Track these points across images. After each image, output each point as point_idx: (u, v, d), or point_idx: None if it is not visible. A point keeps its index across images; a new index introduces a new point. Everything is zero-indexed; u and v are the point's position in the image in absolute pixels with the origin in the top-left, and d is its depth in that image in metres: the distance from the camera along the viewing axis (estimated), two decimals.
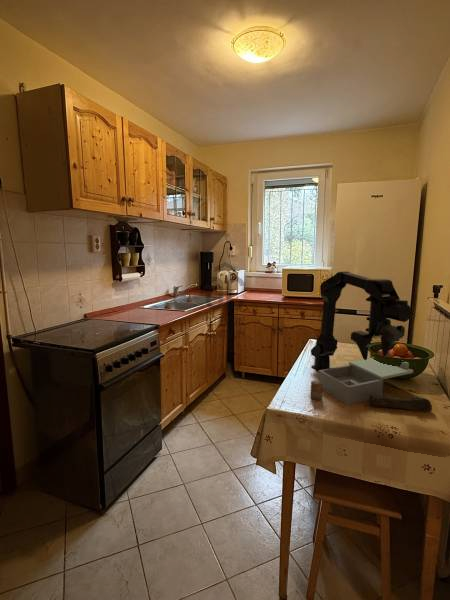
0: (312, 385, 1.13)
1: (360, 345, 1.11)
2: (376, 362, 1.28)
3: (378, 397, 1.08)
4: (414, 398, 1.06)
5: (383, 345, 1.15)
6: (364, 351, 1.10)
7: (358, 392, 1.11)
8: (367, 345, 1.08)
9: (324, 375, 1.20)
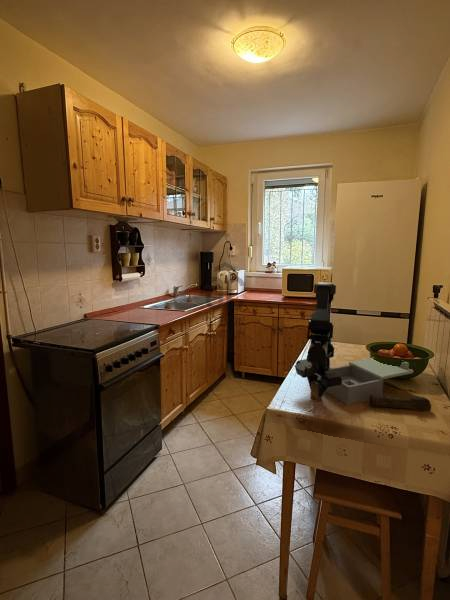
0: (312, 385, 1.13)
1: None
2: (376, 362, 1.28)
3: (378, 397, 1.08)
4: (414, 397, 1.06)
5: None
6: None
7: (358, 392, 1.11)
8: None
9: None
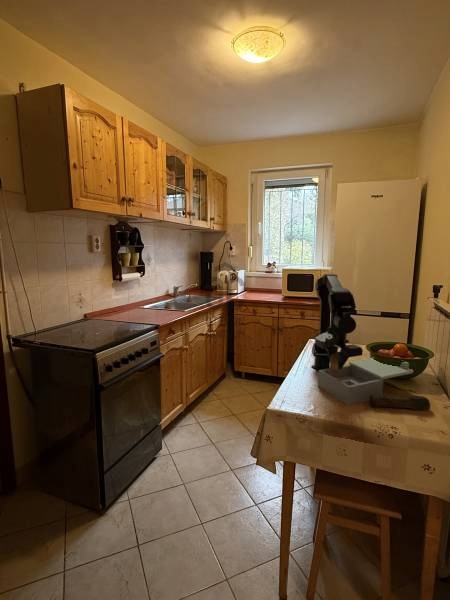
0: (332, 357, 1.14)
1: None
2: (376, 362, 1.28)
3: (378, 397, 1.08)
4: (413, 397, 1.06)
5: None
6: None
7: (358, 392, 1.11)
8: None
9: (324, 375, 1.20)
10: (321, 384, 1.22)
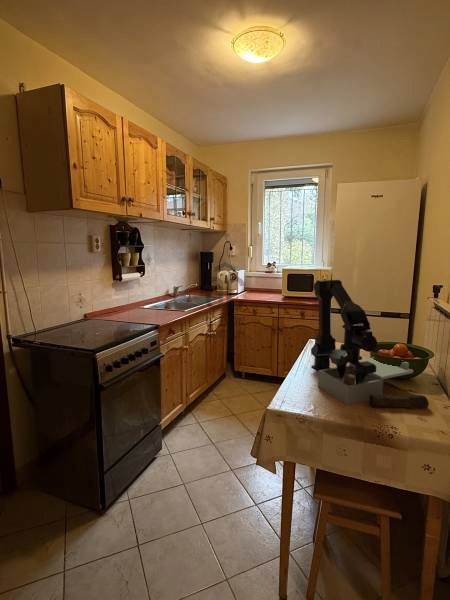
0: (345, 378, 1.18)
1: None
2: (376, 362, 1.28)
3: (378, 397, 1.08)
4: (412, 396, 1.07)
5: None
6: None
7: (358, 392, 1.11)
8: None
9: (324, 375, 1.20)
10: (321, 384, 1.22)
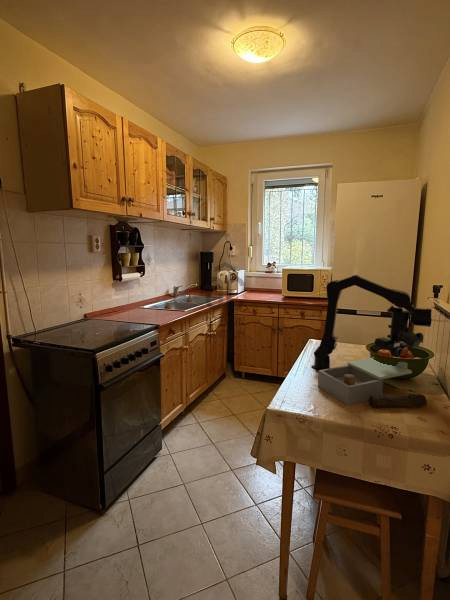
0: (345, 378, 1.18)
1: (391, 348, 1.27)
2: (375, 362, 1.27)
3: (378, 397, 1.08)
4: (411, 395, 1.08)
5: None
6: (395, 354, 1.25)
7: (358, 392, 1.11)
8: (398, 349, 1.23)
9: (324, 375, 1.20)
10: (321, 384, 1.22)
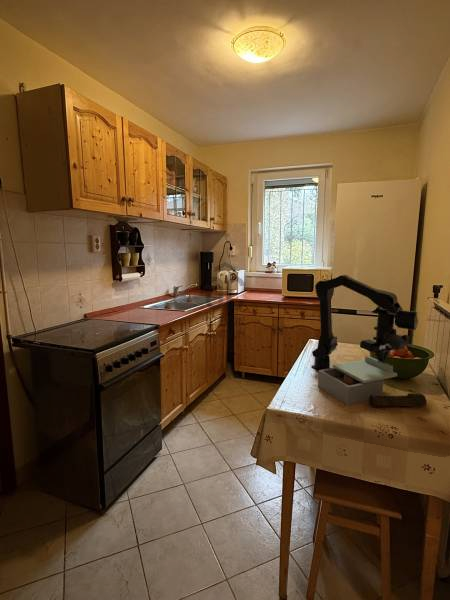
0: (345, 378, 1.18)
1: (377, 351, 1.24)
2: (360, 365, 1.25)
3: (378, 397, 1.08)
4: (411, 394, 1.08)
5: None
6: (381, 356, 1.23)
7: (358, 392, 1.11)
8: (384, 351, 1.20)
9: (324, 375, 1.20)
10: (321, 384, 1.22)
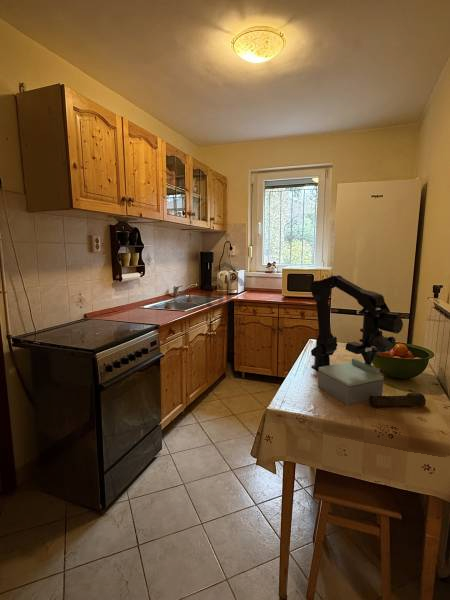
0: None
1: (363, 353, 1.21)
2: (347, 367, 1.22)
3: (378, 397, 1.08)
4: (410, 394, 1.08)
5: None
6: (367, 359, 1.20)
7: (358, 392, 1.11)
8: (370, 353, 1.18)
9: (324, 375, 1.20)
10: (321, 384, 1.22)
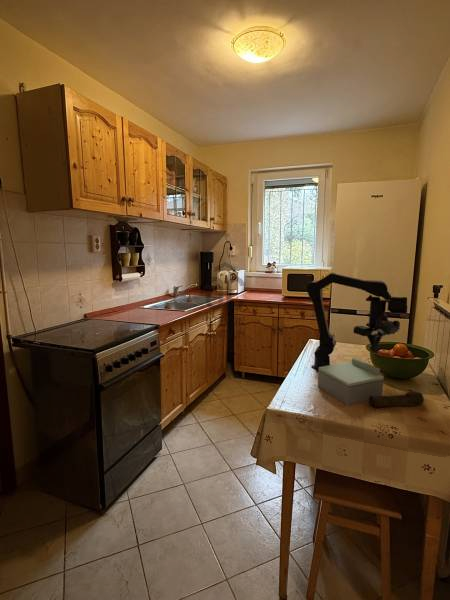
0: None
1: (370, 336, 1.31)
2: (347, 367, 1.22)
3: (378, 398, 1.08)
4: (409, 393, 1.09)
5: None
6: (373, 341, 1.29)
7: (358, 392, 1.11)
8: (376, 336, 1.27)
9: (324, 375, 1.20)
10: (321, 384, 1.22)
